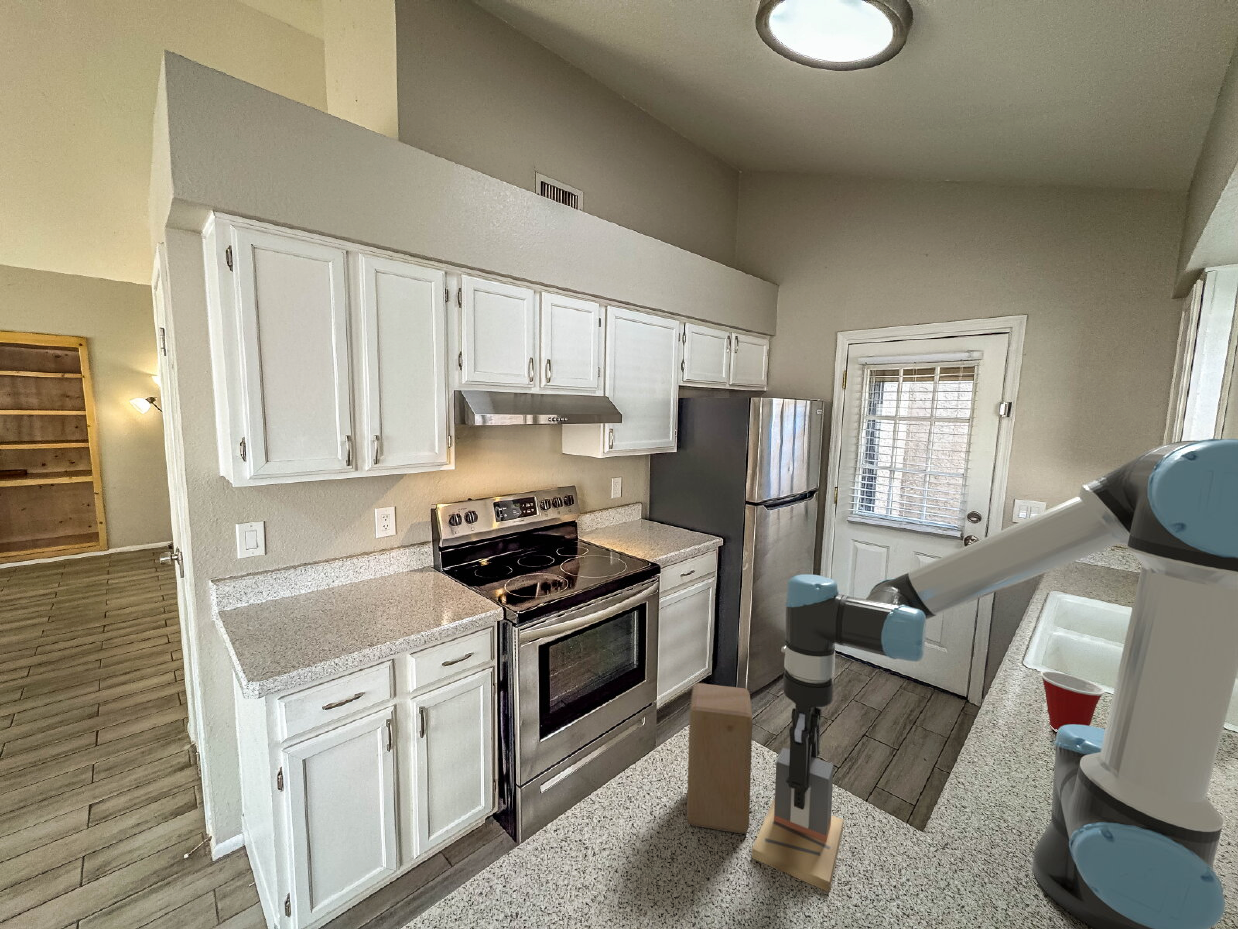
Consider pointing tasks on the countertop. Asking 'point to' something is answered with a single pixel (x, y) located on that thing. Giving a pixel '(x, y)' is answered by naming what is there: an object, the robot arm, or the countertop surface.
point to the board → (798, 850)
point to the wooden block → (719, 758)
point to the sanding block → (818, 796)
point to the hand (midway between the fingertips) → (803, 813)
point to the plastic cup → (1070, 699)
